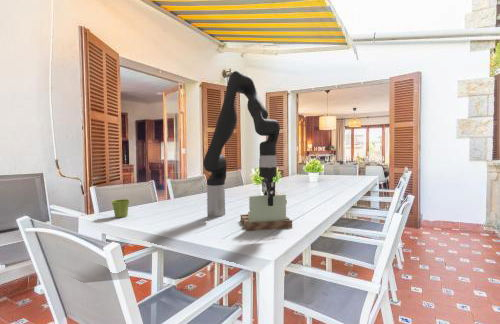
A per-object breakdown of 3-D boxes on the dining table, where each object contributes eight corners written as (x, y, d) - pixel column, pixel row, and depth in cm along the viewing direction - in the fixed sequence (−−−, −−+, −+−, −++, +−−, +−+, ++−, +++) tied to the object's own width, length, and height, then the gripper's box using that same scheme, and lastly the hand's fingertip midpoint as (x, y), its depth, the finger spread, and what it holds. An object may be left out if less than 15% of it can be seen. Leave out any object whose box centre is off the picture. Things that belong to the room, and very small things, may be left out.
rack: (247, 234, 125) (247, 223, 125) (240, 223, 143) (240, 214, 143) (292, 231, 129) (292, 220, 129) (280, 221, 147) (280, 212, 146)
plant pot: (107, 217, 159) (107, 201, 158) (121, 214, 168) (120, 198, 167) (121, 219, 155) (120, 202, 155) (134, 215, 164) (133, 199, 164)
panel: (250, 229, 128) (249, 196, 127) (249, 228, 129) (249, 196, 128) (286, 226, 131) (285, 194, 130) (285, 225, 132) (284, 194, 131)
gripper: (255, 165, 135) (256, 201, 136) (263, 167, 121) (264, 208, 122) (271, 164, 136) (272, 201, 137) (281, 166, 122) (281, 207, 123)
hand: (268, 204), depth 129 cm, fingers open, 6 cm apart
